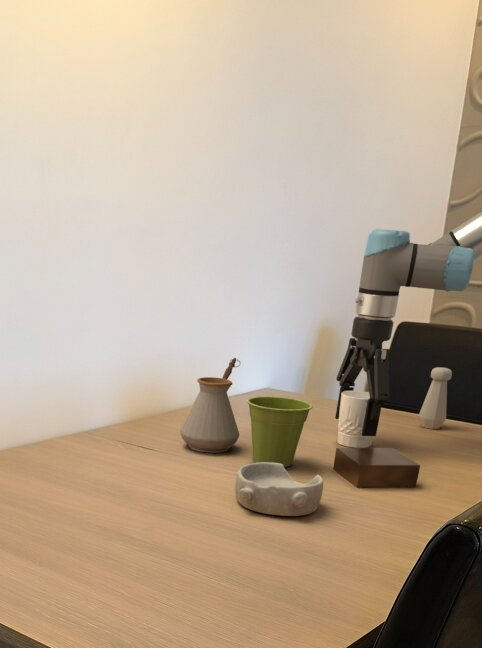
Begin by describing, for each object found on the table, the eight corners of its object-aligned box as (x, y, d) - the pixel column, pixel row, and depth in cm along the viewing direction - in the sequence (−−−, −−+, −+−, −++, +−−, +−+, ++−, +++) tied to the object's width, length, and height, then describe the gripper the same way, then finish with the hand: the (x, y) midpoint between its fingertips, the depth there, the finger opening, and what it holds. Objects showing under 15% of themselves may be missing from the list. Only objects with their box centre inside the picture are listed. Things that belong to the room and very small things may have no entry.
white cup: (366, 451, 164) (375, 400, 160) (328, 444, 168) (336, 394, 163) (377, 443, 171) (386, 394, 166) (340, 436, 174) (348, 388, 170)
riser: (388, 468, 154) (392, 447, 152) (416, 487, 144) (420, 465, 142) (332, 469, 152) (336, 447, 150) (356, 487, 142) (360, 465, 140)
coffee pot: (229, 458, 154) (237, 377, 147) (171, 450, 157) (176, 369, 151) (255, 434, 172) (263, 360, 166) (202, 426, 175) (208, 354, 169)
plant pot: (318, 468, 151) (327, 407, 146) (267, 476, 145) (275, 412, 140) (276, 452, 160) (283, 393, 155) (227, 458, 154) (233, 397, 149)
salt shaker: (412, 425, 187) (423, 366, 181) (425, 422, 191) (437, 364, 185) (435, 431, 183) (447, 371, 178) (448, 428, 187) (461, 369, 181)
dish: (250, 485, 140) (254, 456, 138) (330, 501, 134) (335, 471, 132) (217, 508, 128) (220, 477, 126) (303, 527, 122) (307, 494, 120)
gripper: (331, 308, 169) (315, 411, 178) (384, 326, 147) (362, 443, 156) (365, 310, 170) (348, 412, 179) (422, 327, 148) (399, 443, 157)
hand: (354, 427), depth 168 cm, fingers open, 13 cm apart
